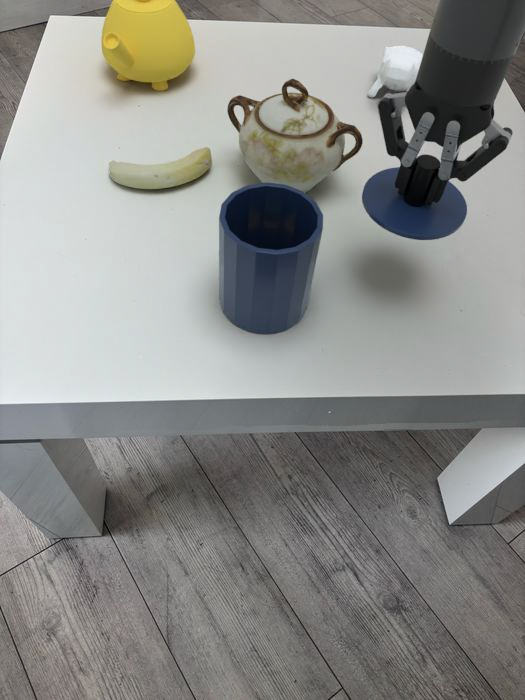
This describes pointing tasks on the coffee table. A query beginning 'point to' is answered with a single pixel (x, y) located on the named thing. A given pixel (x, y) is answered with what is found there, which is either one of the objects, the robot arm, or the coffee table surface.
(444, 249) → the coffee table surface
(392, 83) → the white animal figurine
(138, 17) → the teapot
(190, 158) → the fruit
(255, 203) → the pot
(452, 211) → the lid
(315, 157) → the sugar bowl
